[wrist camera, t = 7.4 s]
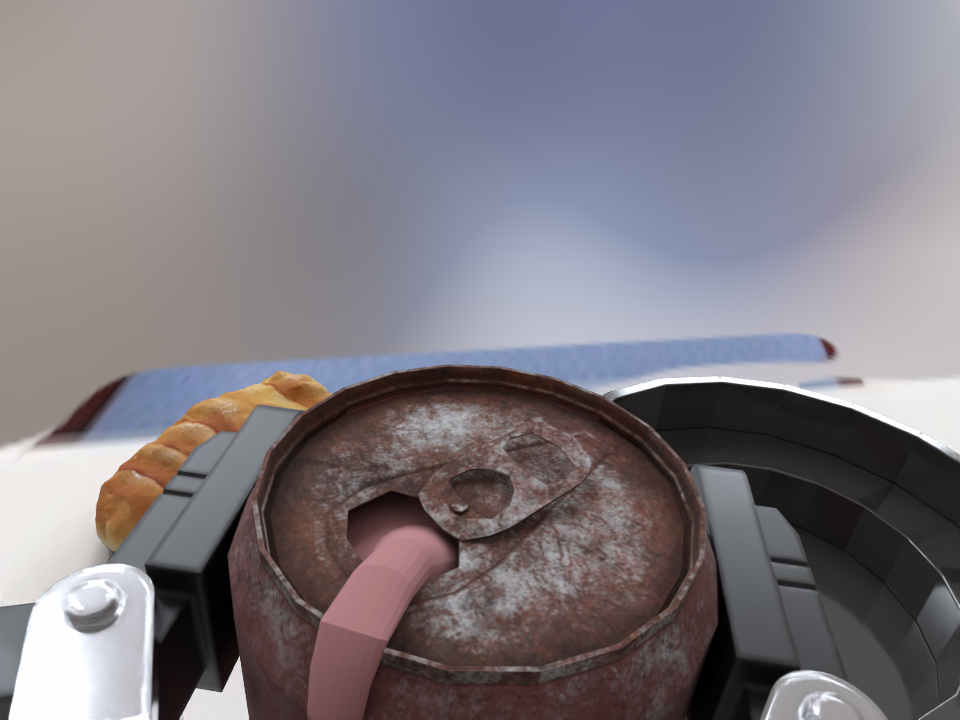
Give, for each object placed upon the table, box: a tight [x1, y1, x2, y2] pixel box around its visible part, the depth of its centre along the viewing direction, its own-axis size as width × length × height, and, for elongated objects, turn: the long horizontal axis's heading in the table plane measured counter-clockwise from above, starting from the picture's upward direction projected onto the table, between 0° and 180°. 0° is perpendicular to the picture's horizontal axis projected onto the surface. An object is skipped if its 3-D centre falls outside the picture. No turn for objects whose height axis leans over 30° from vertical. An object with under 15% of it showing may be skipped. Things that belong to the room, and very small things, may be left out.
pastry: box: [95, 371, 332, 552], centre depth 27 cm, size 9×7×4 cm
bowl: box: [602, 376, 960, 720], centre depth 23 cm, size 16×16×5 cm
